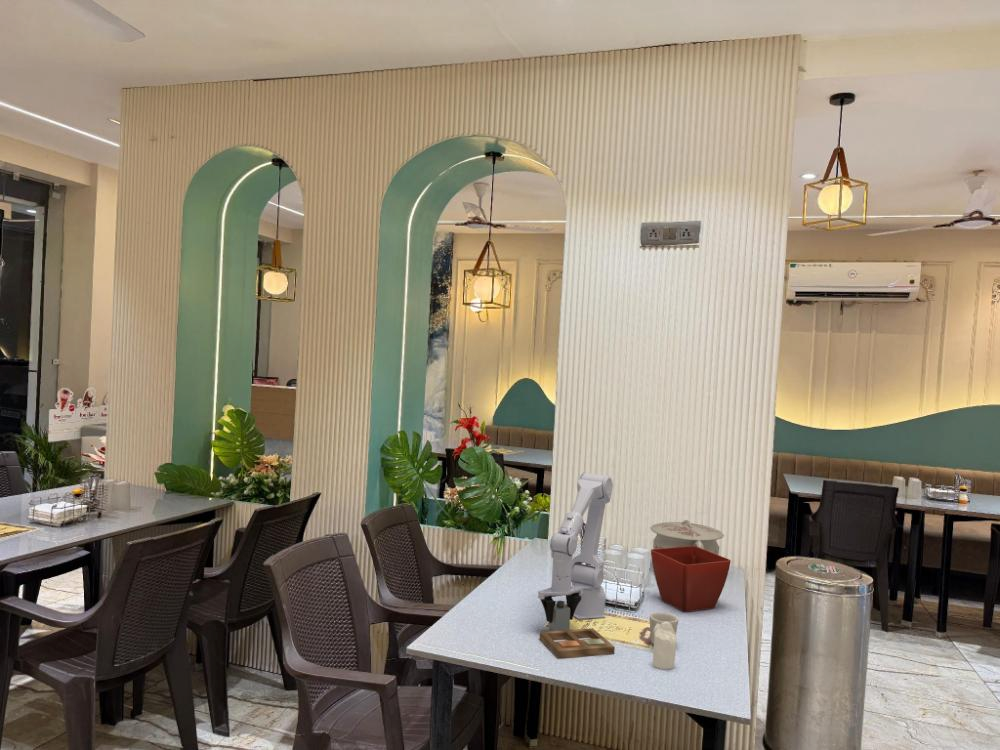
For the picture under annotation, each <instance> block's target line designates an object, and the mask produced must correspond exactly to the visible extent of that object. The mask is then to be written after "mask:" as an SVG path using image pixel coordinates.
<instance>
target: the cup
mask: <svg viewBox="0 0 1000 750" xmlns="http://www.w3.org/2000/svg"><path fill="white" fill-rule="evenodd" d="M666 621H667V622H669V623H670V624H672V628H673V630H674V631H675V634H676V635H677V631H678V625H679V618H678V616H676V615H674V614H672V613H667V612H661V611H660V612H653V613H650V615H649V632H650V633H649V636H650V642H651V644H652V645H654V634H655V632H656V631H657V630H658V629H659V627H660V626H661V624H662V623H664V622H666Z"/></svg>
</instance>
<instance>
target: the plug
mask: <svg viewBox="0 0 1000 750" xmlns="http://www.w3.org/2000/svg"><path fill="white" fill-rule="evenodd" d="M570 621H571V620H570V608H569V607H568V606H567V604H565V601H564V600H556V603H555V606H554V611H553V621H552V623H549V622H548V623H549V624H548V628H549V629H550V630H551V631H561V630H570V625H571V623H570Z"/></svg>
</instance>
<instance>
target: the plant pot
mask: <svg viewBox="0 0 1000 750" xmlns="http://www.w3.org/2000/svg"><path fill="white" fill-rule="evenodd" d="M650 554H651V555H650V556H651V563H652V568H653V573H654V577H655V582H656V586H657V590H658V592H659V596H660V598H661V600H662V601H663V602H664V603H667V604H669V605H670V606H672V607H674V608H676V609H677V610H679V611H682V612H684V613H686V612H687V613H688V612H693V611H694V612H696V611H702V610H703V611H704V610H710V609H714V608H716V605H717V603H718V601H719V599H720V597H721V594H722V592H723V590H724V587H725V585H726V581H727V578H728V575H729V572H730V566H731V561H732V560H731V559H729V558H727V557H725V556H721V555H720V554H719V555H717V554H714V553H712V552H709V551H707V550H704V549H702V548H699V547H697V546H685V547H673V548H661V549H651V550H650Z"/></svg>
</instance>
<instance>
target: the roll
mask: <svg viewBox="0 0 1000 750" xmlns="http://www.w3.org/2000/svg"><path fill="white" fill-rule="evenodd" d="M676 649H677V633H676V634H675V631H674V630H673V628H672V624H670V623H669V622H667V621H666V622H664V623H662V624H661V626H660V627H659V629H658V630H657V631H656V632H655V634H654V644H653V652H652V653H653V654H652V665H653V667H654V668H657V669H661V670H672V669H674V668H675V664H676V663H675V660H676V651H677V650H676Z"/></svg>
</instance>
